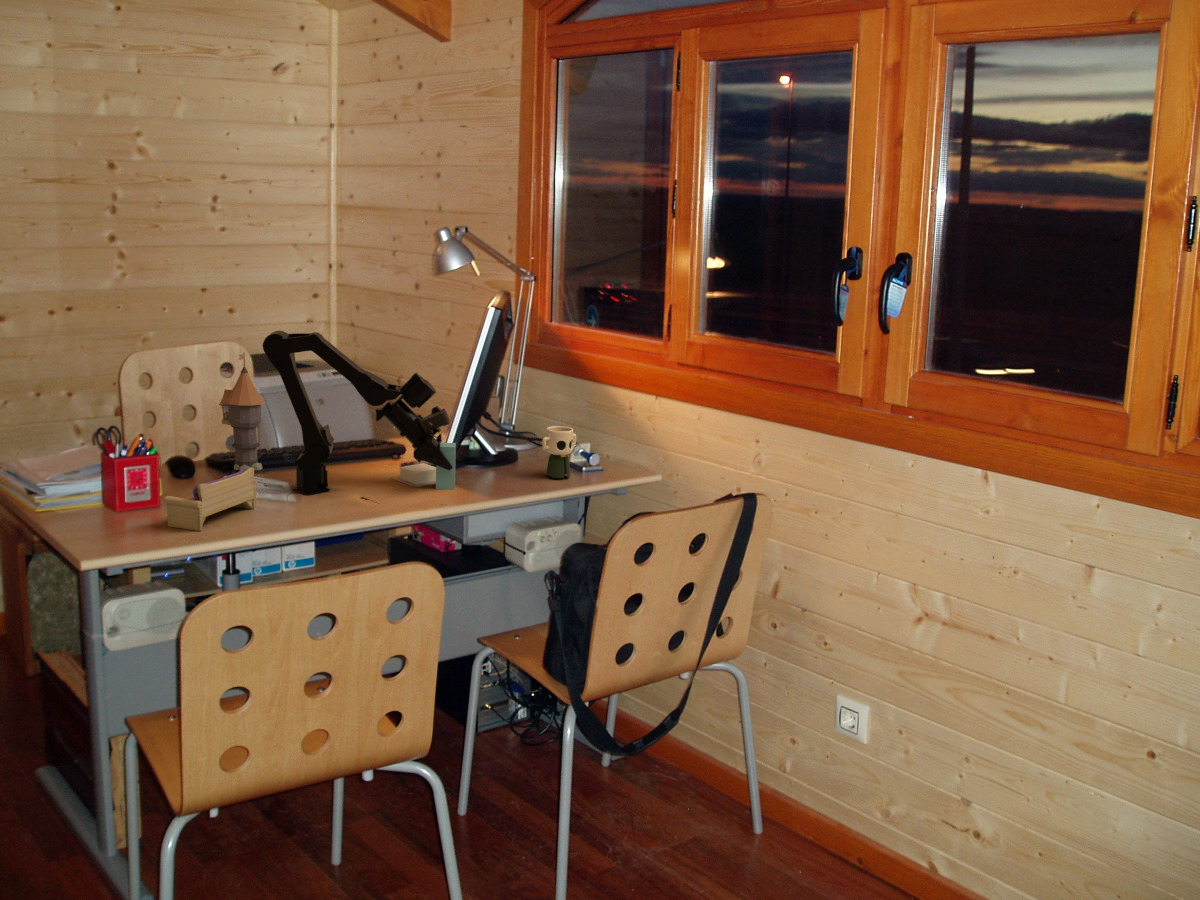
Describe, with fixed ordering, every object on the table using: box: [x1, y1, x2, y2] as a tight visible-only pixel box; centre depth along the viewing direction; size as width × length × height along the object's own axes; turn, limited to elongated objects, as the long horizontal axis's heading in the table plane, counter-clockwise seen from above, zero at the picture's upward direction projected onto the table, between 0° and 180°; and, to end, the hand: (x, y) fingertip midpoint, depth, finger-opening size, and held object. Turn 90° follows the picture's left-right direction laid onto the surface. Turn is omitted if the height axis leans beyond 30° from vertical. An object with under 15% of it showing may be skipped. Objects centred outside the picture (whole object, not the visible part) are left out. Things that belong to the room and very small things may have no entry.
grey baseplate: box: [391, 476, 436, 488], centre depth 281 cm, size 10×10×2 cm
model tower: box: [218, 352, 266, 472], centre depth 287 cm, size 10×11×30 cm
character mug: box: [541, 425, 577, 479], centre depth 294 cm, size 11×7×13 cm, turn 130°
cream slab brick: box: [399, 462, 436, 485], centre depth 280 cm, size 7×7×3 cm
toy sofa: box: [164, 467, 259, 532], centre depth 247 cm, size 21×9×10 cm, turn 161°
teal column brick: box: [435, 442, 457, 490], centre depth 274 cm, size 4×4×12 cm
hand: (451, 466), depth 274 cm, fingers closed on teal column brick, 4 cm apart
